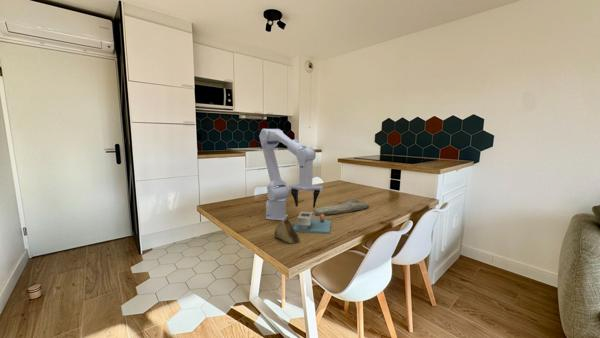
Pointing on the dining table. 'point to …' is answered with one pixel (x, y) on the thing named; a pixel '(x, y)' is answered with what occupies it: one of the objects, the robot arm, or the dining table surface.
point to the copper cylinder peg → (321, 218)
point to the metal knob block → (304, 227)
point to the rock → (286, 232)
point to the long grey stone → (342, 207)
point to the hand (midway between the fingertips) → (305, 206)
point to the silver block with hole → (305, 218)
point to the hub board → (316, 227)
